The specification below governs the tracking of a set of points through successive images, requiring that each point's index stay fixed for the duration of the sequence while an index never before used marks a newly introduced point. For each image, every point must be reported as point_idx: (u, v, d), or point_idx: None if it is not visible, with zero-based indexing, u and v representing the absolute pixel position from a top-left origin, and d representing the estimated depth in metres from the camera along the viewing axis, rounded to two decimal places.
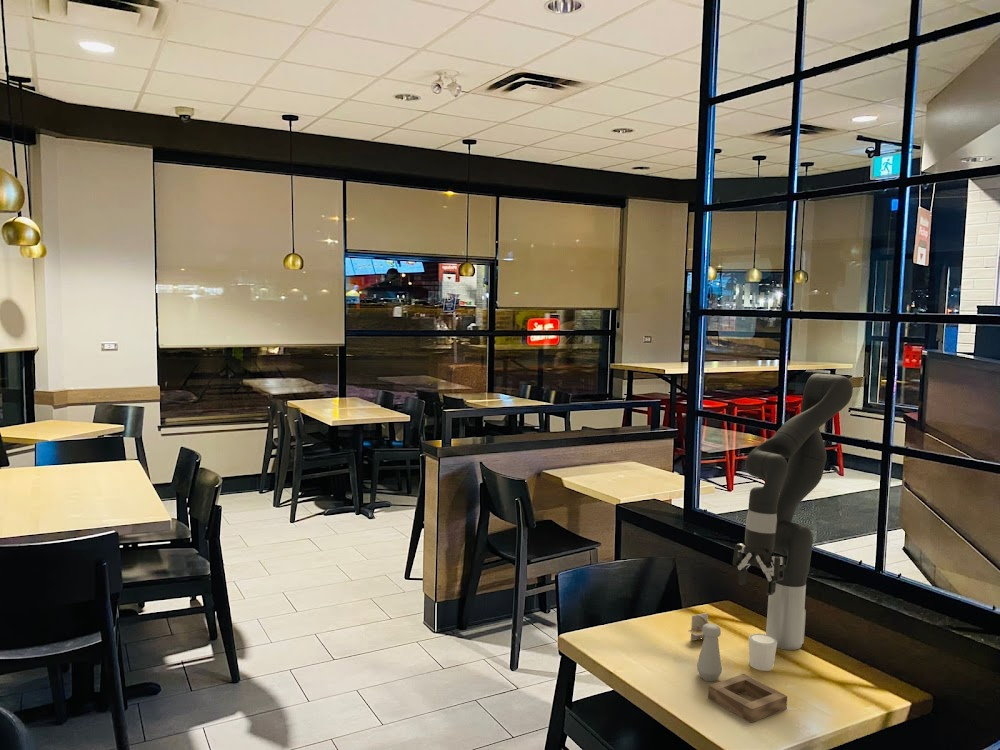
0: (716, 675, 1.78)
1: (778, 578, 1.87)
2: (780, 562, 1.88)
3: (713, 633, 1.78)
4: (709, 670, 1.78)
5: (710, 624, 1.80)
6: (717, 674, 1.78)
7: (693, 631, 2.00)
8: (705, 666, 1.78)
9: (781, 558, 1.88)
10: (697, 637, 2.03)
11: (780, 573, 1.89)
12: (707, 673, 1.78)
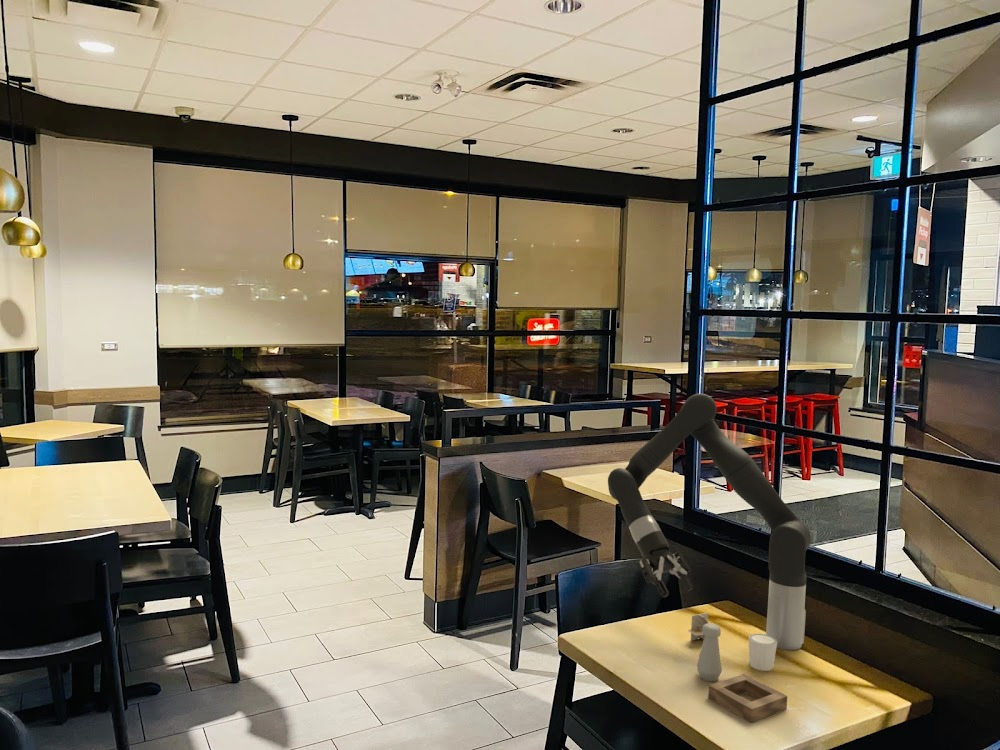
0: (716, 675, 1.78)
1: None
2: None
3: (713, 633, 1.78)
4: (709, 670, 1.78)
5: (710, 624, 1.80)
6: (717, 674, 1.78)
7: (693, 631, 2.00)
8: (705, 666, 1.78)
9: None
10: (697, 637, 2.03)
11: None
12: (707, 673, 1.78)
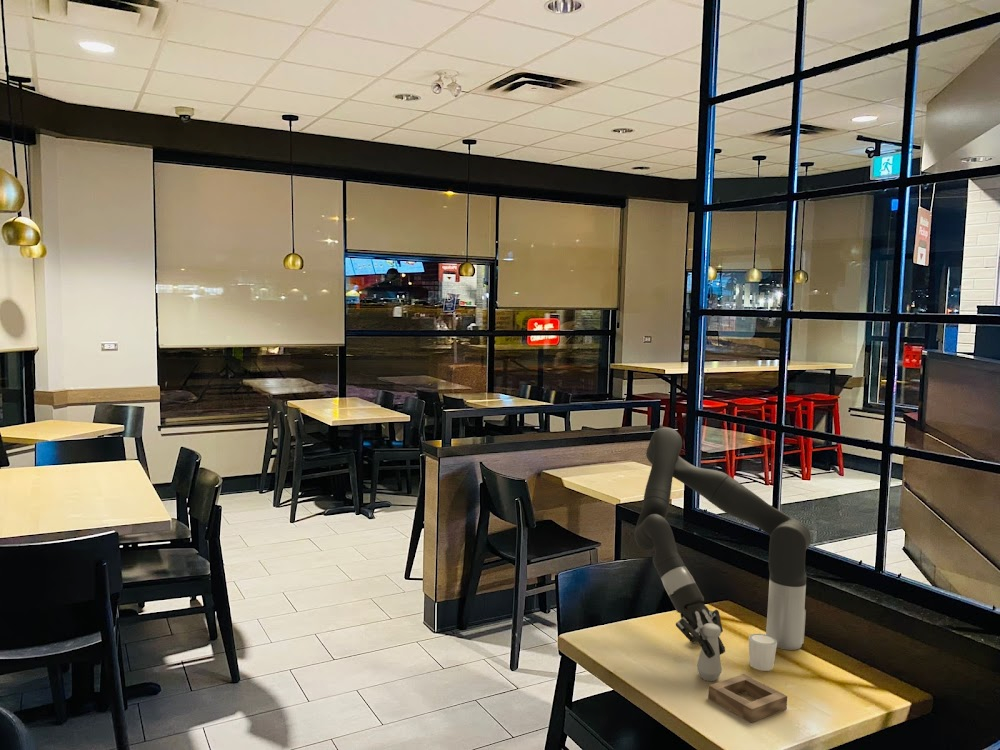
0: (716, 675, 1.78)
1: None
2: None
3: (713, 633, 1.78)
4: (709, 670, 1.78)
5: (710, 624, 1.80)
6: (717, 674, 1.78)
7: None
8: (705, 666, 1.78)
9: None
10: None
11: None
12: (707, 673, 1.78)
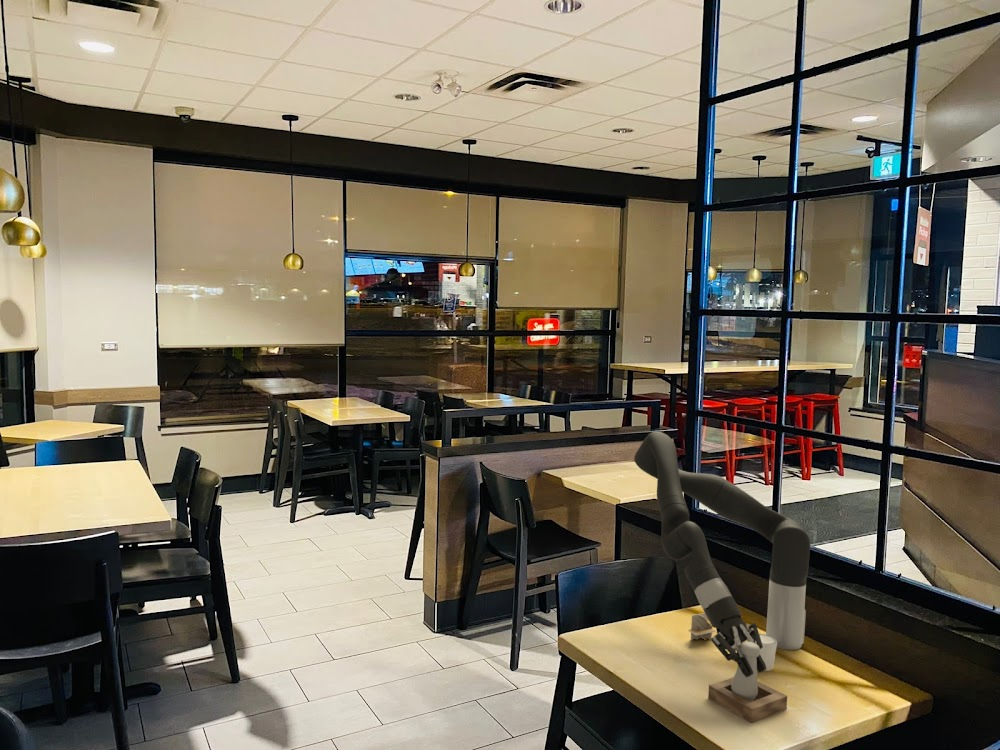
0: (752, 697, 1.66)
1: None
2: None
3: (753, 652, 1.66)
4: (745, 691, 1.66)
5: (749, 642, 1.68)
6: (753, 696, 1.66)
7: (693, 631, 2.00)
8: (741, 687, 1.66)
9: None
10: (697, 637, 2.03)
11: None
12: (742, 695, 1.66)
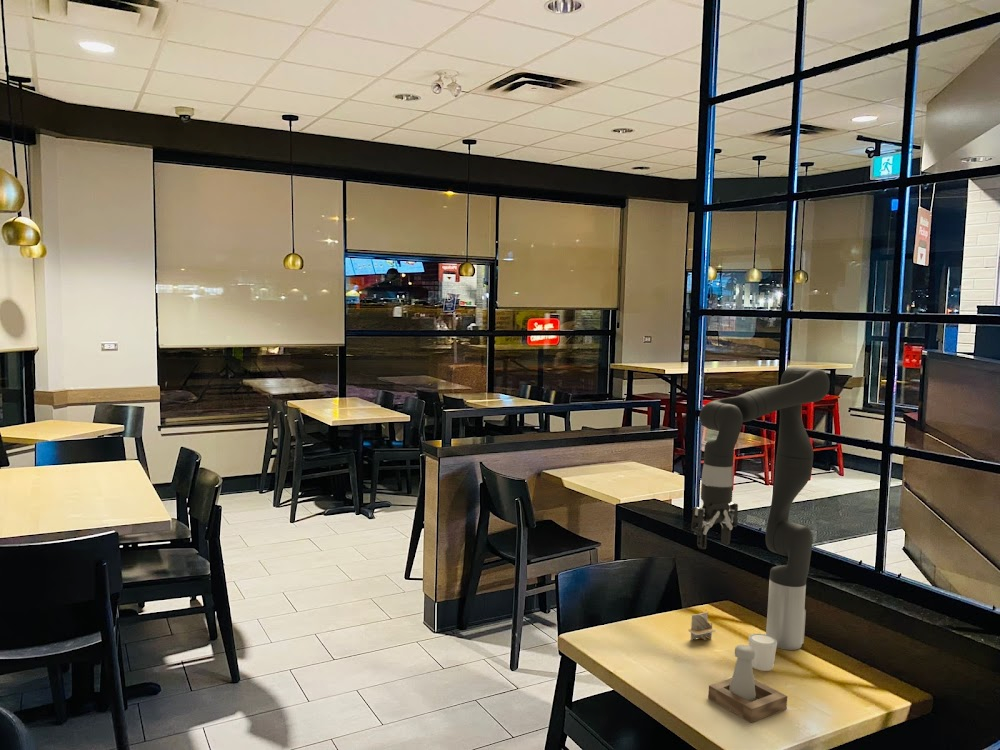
0: (750, 701, 1.66)
1: None
2: None
3: (747, 655, 1.66)
4: (742, 695, 1.66)
5: (743, 646, 1.69)
6: (751, 699, 1.66)
7: (693, 630, 2.00)
8: (738, 691, 1.67)
9: None
10: (697, 636, 2.03)
11: (729, 518, 1.90)
12: None
